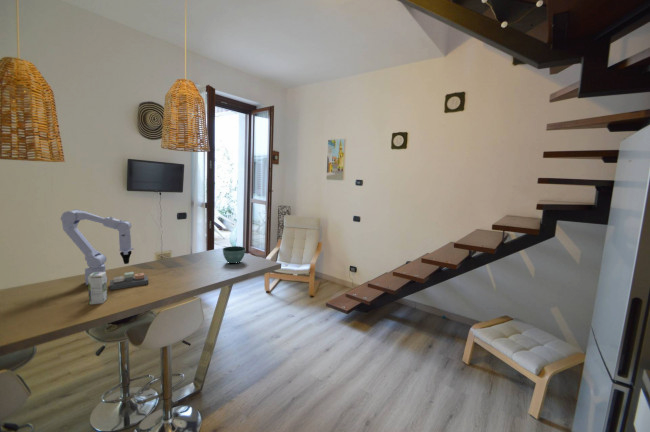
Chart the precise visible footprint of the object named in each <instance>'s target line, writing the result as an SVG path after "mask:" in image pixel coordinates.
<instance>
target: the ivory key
mask: <svg viewBox="0 0 650 432" xmlns="http://www.w3.org/2000/svg"><path fill="white" fill-rule="evenodd" d="M123 278H124V275H120V276H114V277H113V280H114V282H115V283H122V282H123V281H124V279H123Z"/></svg>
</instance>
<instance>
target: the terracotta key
mask: <svg viewBox="0 0 650 432" xmlns="http://www.w3.org/2000/svg"><path fill="white" fill-rule="evenodd" d="M144 275H145V273H144V272H141V273H134V277H135V279H136V280H142V279H144Z"/></svg>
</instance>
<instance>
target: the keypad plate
mask: <svg viewBox="0 0 650 432" xmlns="http://www.w3.org/2000/svg"><path fill="white" fill-rule="evenodd" d="M123 279H124V281H123V282H122V283H115V282H114V279H111V280H109V290H110V291H115V290H120V289H126V288H131V287H137V286H138V287H139V286H144V285H145V286H146V285H149V277H148V275H147V274H144V279H142V280H136V279H135V276H134V277H133V281H128V282H126V278H125V277H123Z"/></svg>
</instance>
